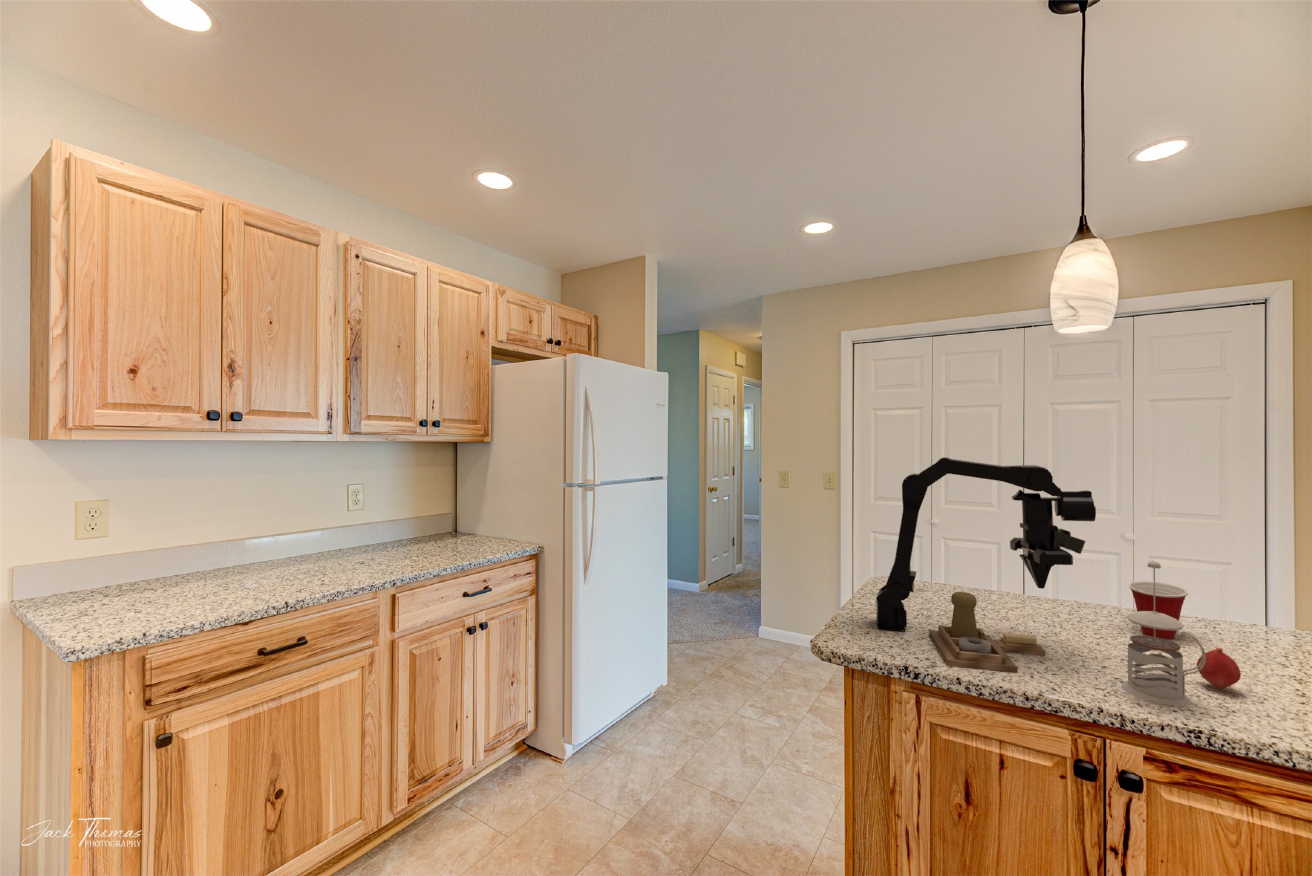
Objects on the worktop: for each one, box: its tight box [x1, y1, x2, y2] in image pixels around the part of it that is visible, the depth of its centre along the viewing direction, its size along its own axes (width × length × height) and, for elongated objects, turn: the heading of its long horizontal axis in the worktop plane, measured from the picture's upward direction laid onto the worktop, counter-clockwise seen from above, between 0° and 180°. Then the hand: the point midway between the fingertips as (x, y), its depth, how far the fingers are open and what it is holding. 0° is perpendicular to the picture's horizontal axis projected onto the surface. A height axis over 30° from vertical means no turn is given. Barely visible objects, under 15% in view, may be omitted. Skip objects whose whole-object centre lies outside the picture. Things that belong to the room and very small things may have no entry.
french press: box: [1120, 560, 1206, 707], centre depth 102 cm, size 10×12×25 cm
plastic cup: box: [1128, 580, 1189, 640], centre depth 132 cm, size 11×11×12 cm
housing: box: [928, 624, 1046, 674], centre depth 121 cm, size 22×19×4 cm
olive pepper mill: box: [950, 591, 978, 638], centre depth 126 cm, size 6×6×11 cm
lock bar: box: [1002, 632, 1038, 646], centre depth 123 cm, size 6×2×2 cm, turn 74°
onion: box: [1196, 647, 1242, 690], centre depth 104 cm, size 6×6×8 cm
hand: (1040, 587), depth 124 cm, fingers closed
